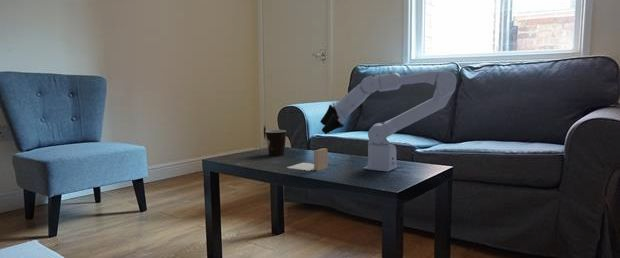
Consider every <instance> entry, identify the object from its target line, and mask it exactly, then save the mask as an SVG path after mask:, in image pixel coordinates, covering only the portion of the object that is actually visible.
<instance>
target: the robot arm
mask: <svg viewBox="0 0 620 258" xmlns="http://www.w3.org/2000/svg"><path fill="white" fill-rule="evenodd" d="M457 80H458V79H457V76H456V75H455V74H454V73H453V72H452V71H448V70H444V71H436V70H435V71H434V70H432V71H429V70H428V71H423V72H417V73H411V74H404V75H400V74H399V73H398V72H394V71H392V70H391V71H388V73H385V74H384V73H383V74H378V73H375V74H374V76H373V75H368V76H365V77H364V78H363V79H361V82H360V83H359V84H357V85H356V86H355V87H354V88H353V89H351V90H350V91H349V92H348V93H347V94H346V95H345V96H344V97H343V98H342V99H340V100H339V101H337V102H333V103H332V104H329V106H328V108H327V109H326V112H325V114H324V115H323V117H322V118H321V119H320V124H322V125H323V127H322V128H321V132H322V133H324V134H325V135H327V134H329V133H330V132H333V131H334V130H337V129H340V128H343V127H344V123H345V122H346V119H347V118H348V116H349V115H350V114H351V113H353V112H354V111H355V110H356V109H357V108H358V107H359V106H360V105H361V104H363V103H364V102H365V101H366V99H367V98H368V97H369V96H370V95H371V94H373V93H376V91H379V92H387V91H388V92H389V91H395V90H399V89H400V88H401V86H402V85H411V84H419V83H420V84H421V83H422V84H423V83H427V84H430V85H433V86H434V85H435V89H434V92H433V96H432V98H430V99H428V100H426V101H424V102H422V103H419V104H418V105H416V106H415V107H412V108H410V109H408V110H407V111H404V112H402V113H400V114H399V115H397V116H395V117H393V118H391V119H389V120H385V121H383V122H377V123H374V124H373V125H372V126H371V127H370V128H369V130H368V132H367V137H368V140H369V141H367V150H368V151H367V153H368V154H367V165H366V166H364V167H363V169H364V170H371V171H381V172H391V171H392V170H395V169H397V168H398V165H397V147H396V145H394V144H392V143H390V140H388V139H387V138H388V137H390V136H392V135H393V134H395V133H396V132H398V131H400V130H402V129H404V128H406V127H408V126H410V125H412V124H414V123H416V122H418V121H420V120H423V119H424V118H426V117H428V116H430V115H432V114H433V113H436V112H438V111H440V110H442V109H444V108H445V107H446V106H447V104H448V103H449V101H450V99H451V97H452V95H453V94H454V92H455V91H456V87H457V83H458V81H457Z"/></svg>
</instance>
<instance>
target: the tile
mask: <svg viewBox="0 0 620 258" xmlns="http://www.w3.org/2000/svg"><path fill="white" fill-rule="evenodd" d="M328 158H329V157H328V148H319V149H315V150H313V164H314V170H316V172H319V170H320V171H322V169H323V170H325V168H326V169H328V165H329V163H328V160H329V159H328ZM314 170H313V171H314Z"/></svg>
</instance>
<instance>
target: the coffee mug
mask: <svg viewBox="0 0 620 258" xmlns="http://www.w3.org/2000/svg"><path fill="white" fill-rule="evenodd" d="M265 136H266V144H267V150H268V156H269V157H283V156H285V153H286V152H285V151H286V139H287V130H284V129H271V130H270V129H269V130H266V131H265Z"/></svg>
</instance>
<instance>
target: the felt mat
mask: <svg viewBox="0 0 620 258" xmlns="http://www.w3.org/2000/svg"><path fill="white" fill-rule="evenodd" d="M286 169H289V170H290V169H291V170H296V171H297V170H298V171H304V170H305V172H311V170H312V171H314V163H309V162H300V163H297V164H293V165H291V166H290V165H289V166H286Z"/></svg>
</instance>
